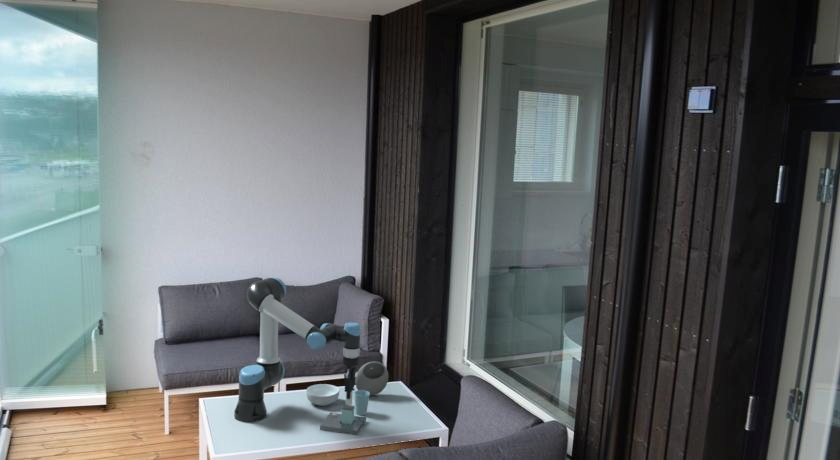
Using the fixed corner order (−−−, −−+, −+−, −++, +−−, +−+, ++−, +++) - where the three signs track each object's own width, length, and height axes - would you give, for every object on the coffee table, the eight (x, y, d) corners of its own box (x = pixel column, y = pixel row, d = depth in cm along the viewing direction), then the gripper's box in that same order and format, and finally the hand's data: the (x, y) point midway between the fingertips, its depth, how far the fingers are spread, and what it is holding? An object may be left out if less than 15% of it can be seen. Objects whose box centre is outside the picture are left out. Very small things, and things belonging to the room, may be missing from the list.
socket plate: (319, 429, 326) (319, 423, 325) (330, 416, 341) (330, 410, 341) (357, 434, 323) (357, 429, 322) (365, 421, 338) (366, 415, 338)
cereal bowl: (311, 395, 367) (311, 382, 366) (342, 398, 365) (343, 385, 364) (301, 407, 350) (302, 393, 349) (333, 411, 348) (334, 397, 347)
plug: (341, 426, 330) (342, 408, 329) (343, 422, 334) (344, 404, 333) (351, 427, 329) (352, 409, 328) (353, 424, 333) (354, 406, 332)
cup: (370, 415, 346) (371, 395, 345) (356, 416, 343) (357, 396, 342) (365, 409, 353) (366, 389, 352) (351, 411, 350) (352, 391, 348)
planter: (356, 400, 364) (358, 365, 362) (352, 395, 371) (354, 360, 368) (389, 396, 372) (391, 362, 370) (384, 391, 379) (386, 358, 376)
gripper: (355, 361, 320) (352, 410, 323) (362, 352, 333) (360, 400, 336) (339, 359, 321) (337, 408, 324) (347, 351, 334) (345, 398, 337)
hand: (348, 404), depth 330 cm, fingers closed
